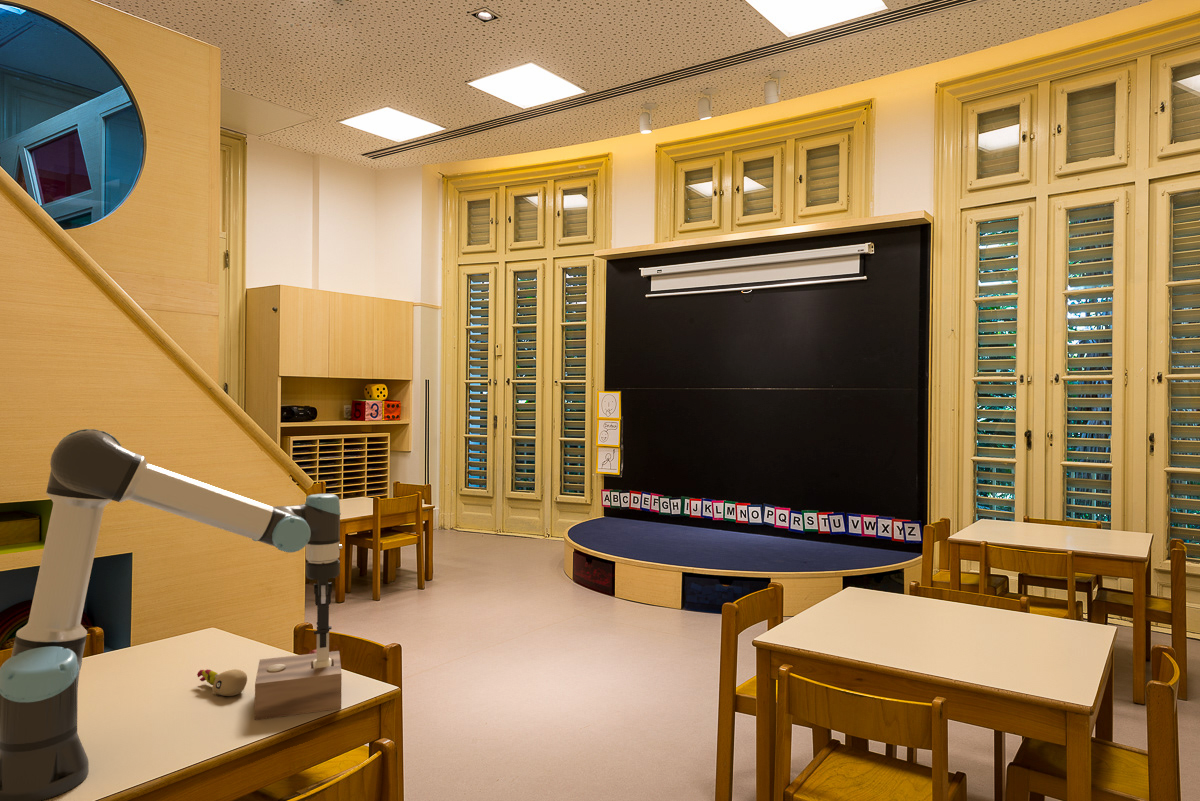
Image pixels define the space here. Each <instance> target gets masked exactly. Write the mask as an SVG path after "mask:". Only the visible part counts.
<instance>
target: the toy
mask: <svg viewBox="0 0 1200 801" xmlns="http://www.w3.org/2000/svg"><path fill="white" fill-rule="evenodd" d="M196 675H197V678H199V681H201V682H205V681H206V682H207V683H208V684H209V685H211V686H212V687H211V690H212V694H214V695H216V696H223V697H234V696H236V695H239V694H241V693H242V692H243V691H244V690H245V688H246V685H247V683H248V675H247V672H245V671H243V670H241V669H229V670H225V671H223V672H221V673H218V672H216V671H213V670H211V669H200V670H199V671H198V672H197V674H196ZM201 676H202V677H201ZM200 677H201V678H200Z"/></svg>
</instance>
